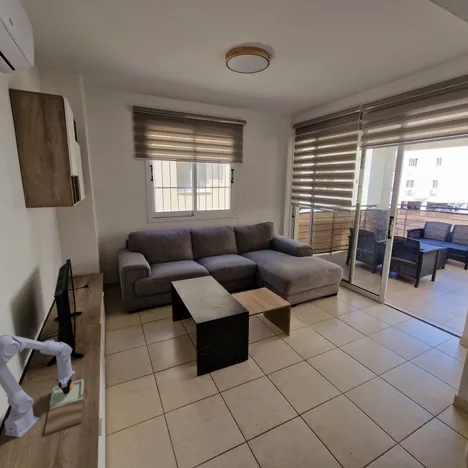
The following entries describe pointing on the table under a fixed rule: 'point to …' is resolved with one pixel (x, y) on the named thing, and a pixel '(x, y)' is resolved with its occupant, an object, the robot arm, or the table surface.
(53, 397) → the tray
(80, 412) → the lane
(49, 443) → the table surface
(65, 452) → the table surface
